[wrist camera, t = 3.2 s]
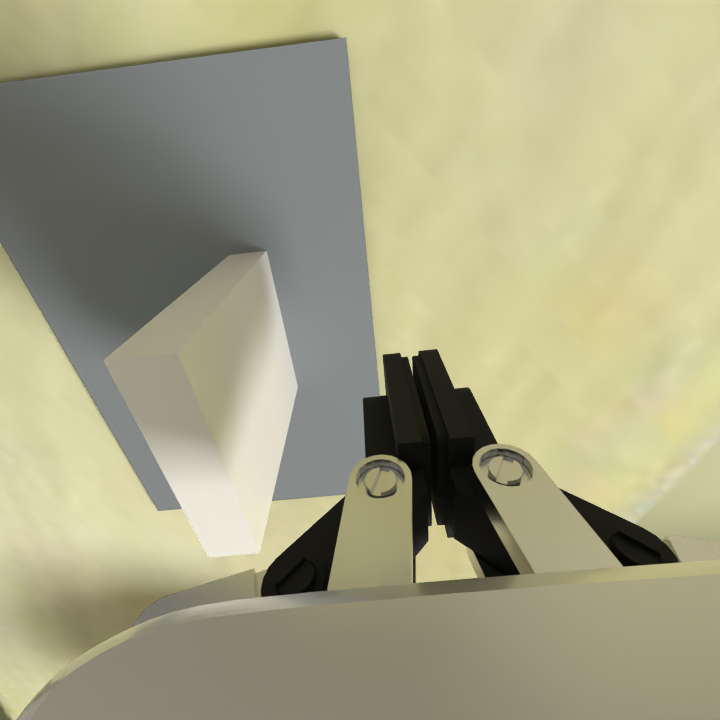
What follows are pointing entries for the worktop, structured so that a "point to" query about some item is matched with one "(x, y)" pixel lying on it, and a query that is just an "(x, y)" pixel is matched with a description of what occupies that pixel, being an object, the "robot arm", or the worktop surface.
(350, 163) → the mat
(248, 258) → the tile
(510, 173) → the worktop surface
